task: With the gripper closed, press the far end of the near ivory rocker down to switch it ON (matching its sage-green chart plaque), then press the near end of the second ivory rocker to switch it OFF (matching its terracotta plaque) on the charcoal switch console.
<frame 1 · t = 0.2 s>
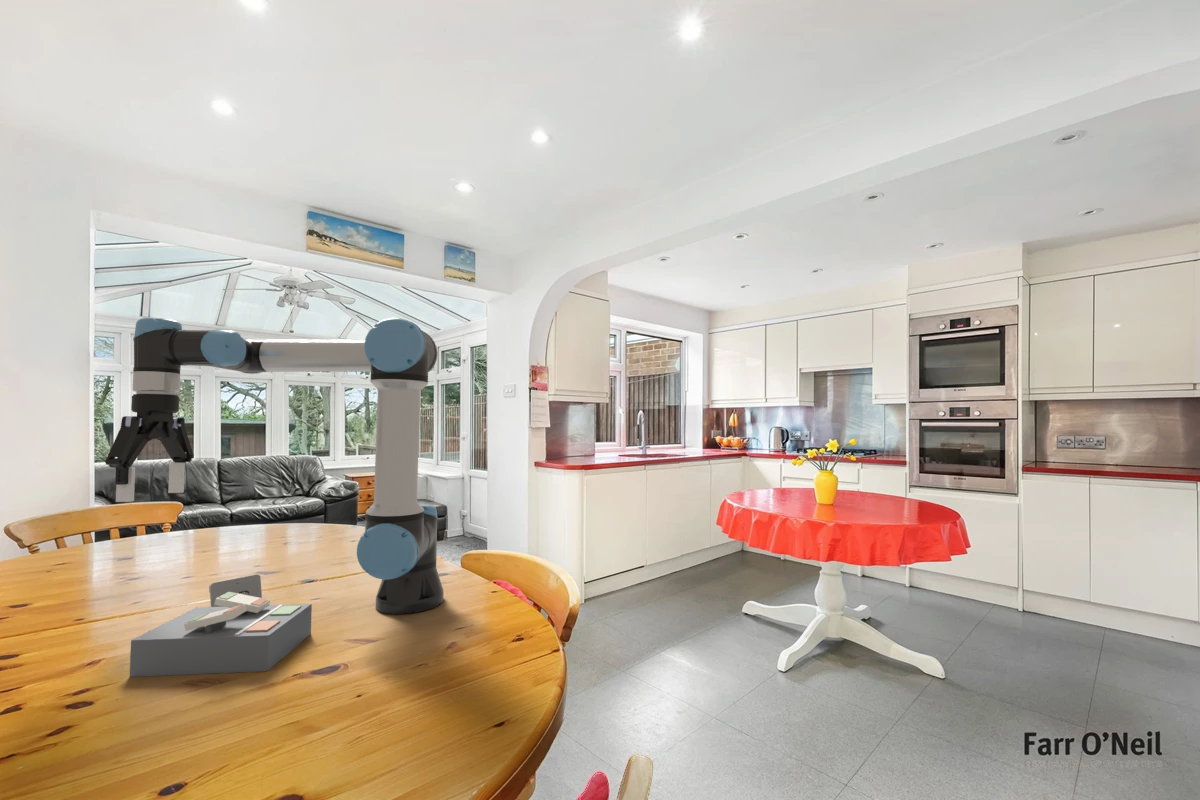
hand: (152, 497, 107), 27 cm above the table, fingers open, 13 cm apart
console: (228, 653, 96), on the table
rocker B: (216, 616, 93), point 8 cm above the table, hinge at 13.0°
electrical switch: (233, 622, 112), on the table
rocker A: (243, 601, 101), point 8 cm above the table, hinge at -13.0°
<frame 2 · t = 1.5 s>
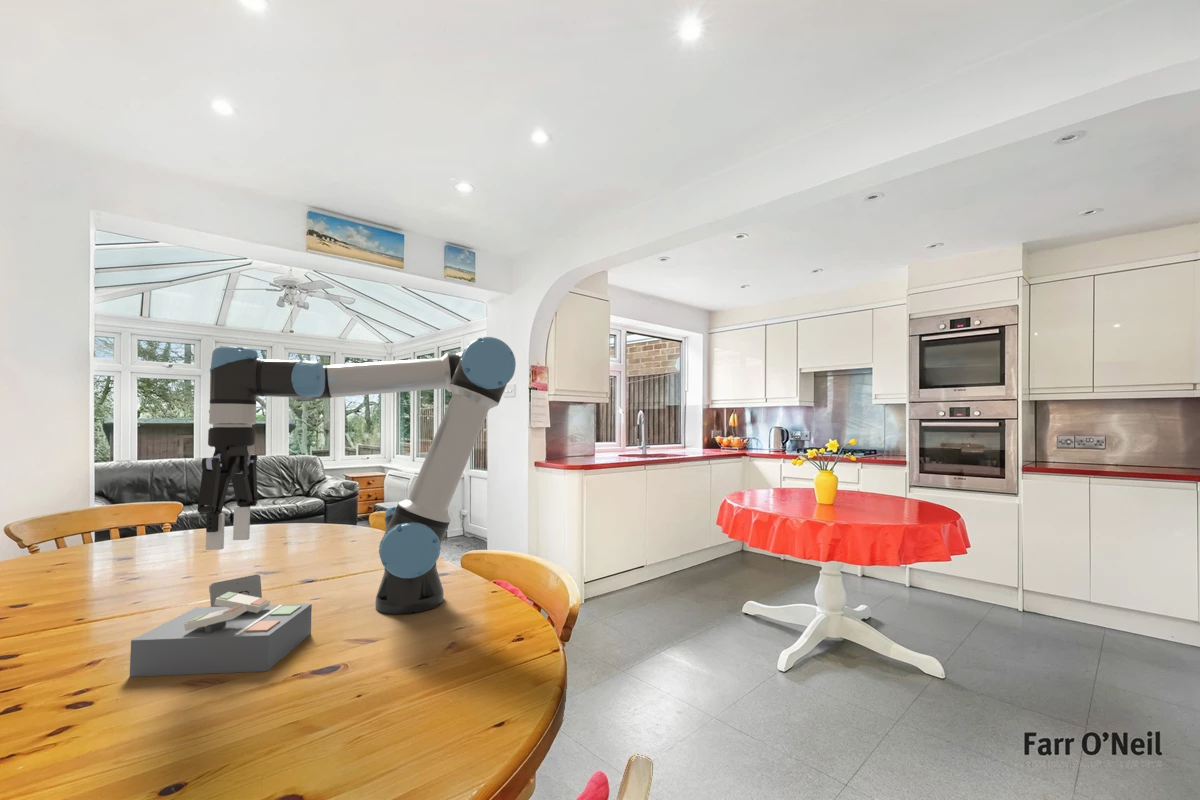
hand: (228, 544, 101), 19 cm above the table, fingers open, 8 cm apart
nothing on the table moved.
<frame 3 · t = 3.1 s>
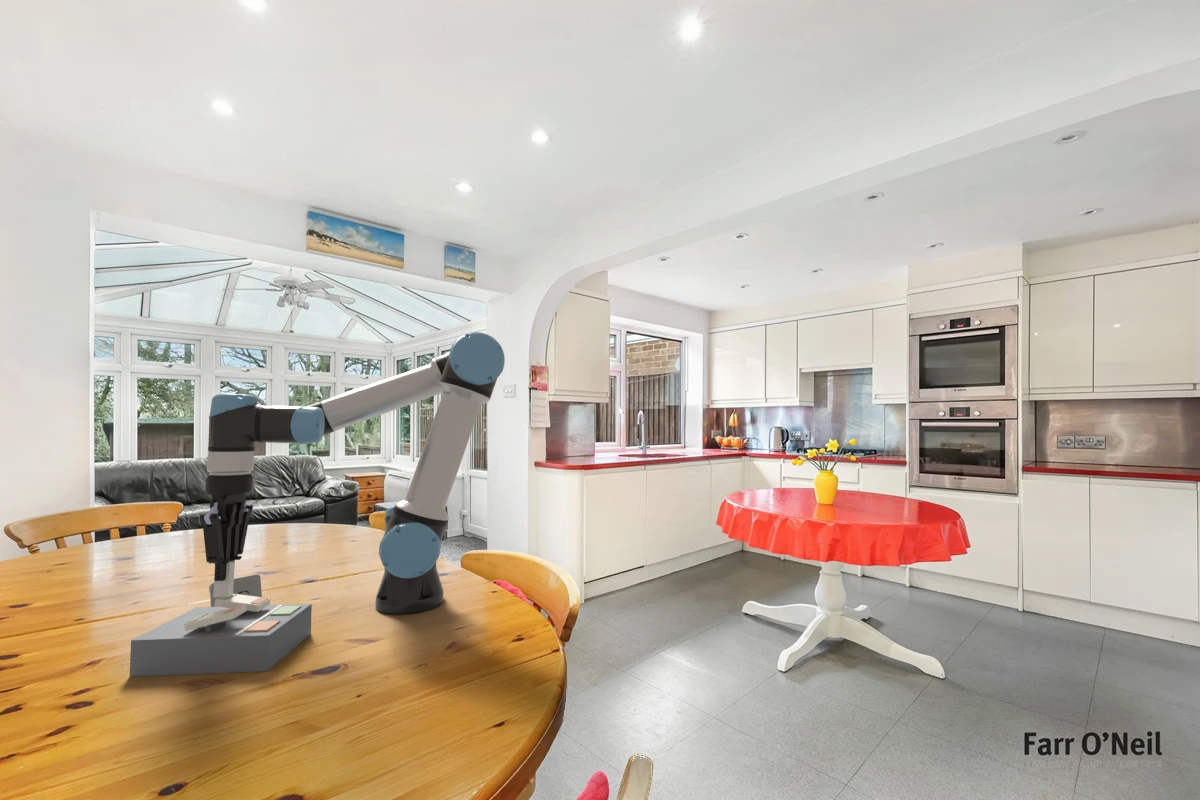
hand: (223, 596, 100), 9 cm above the table, fingers closed
rocker A: (243, 601, 101), point 8 cm above the table, hinge at -9.0°, touching gripper
everything else where it was.
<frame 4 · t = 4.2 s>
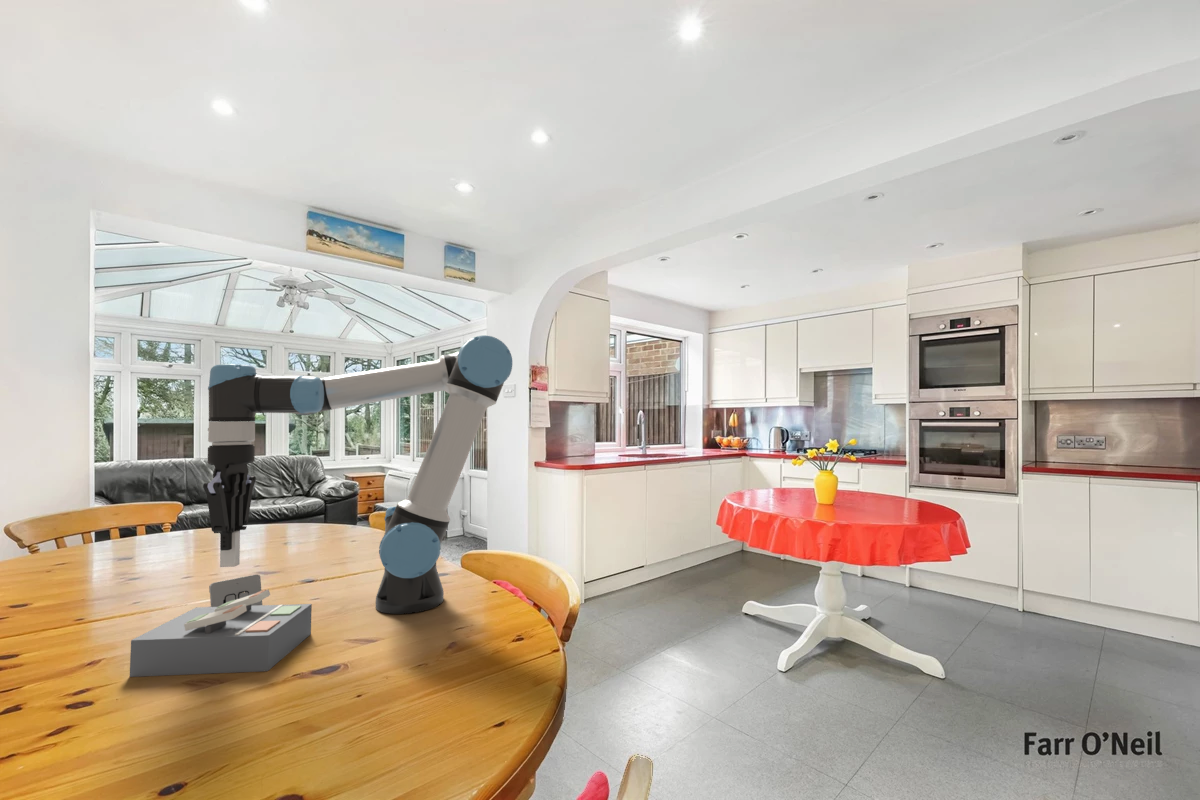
hand: (229, 565, 101), 15 cm above the table, fingers closed
rocker A: (242, 601, 101), point 8 cm above the table, hinge at 17.2°
everything else where it was.
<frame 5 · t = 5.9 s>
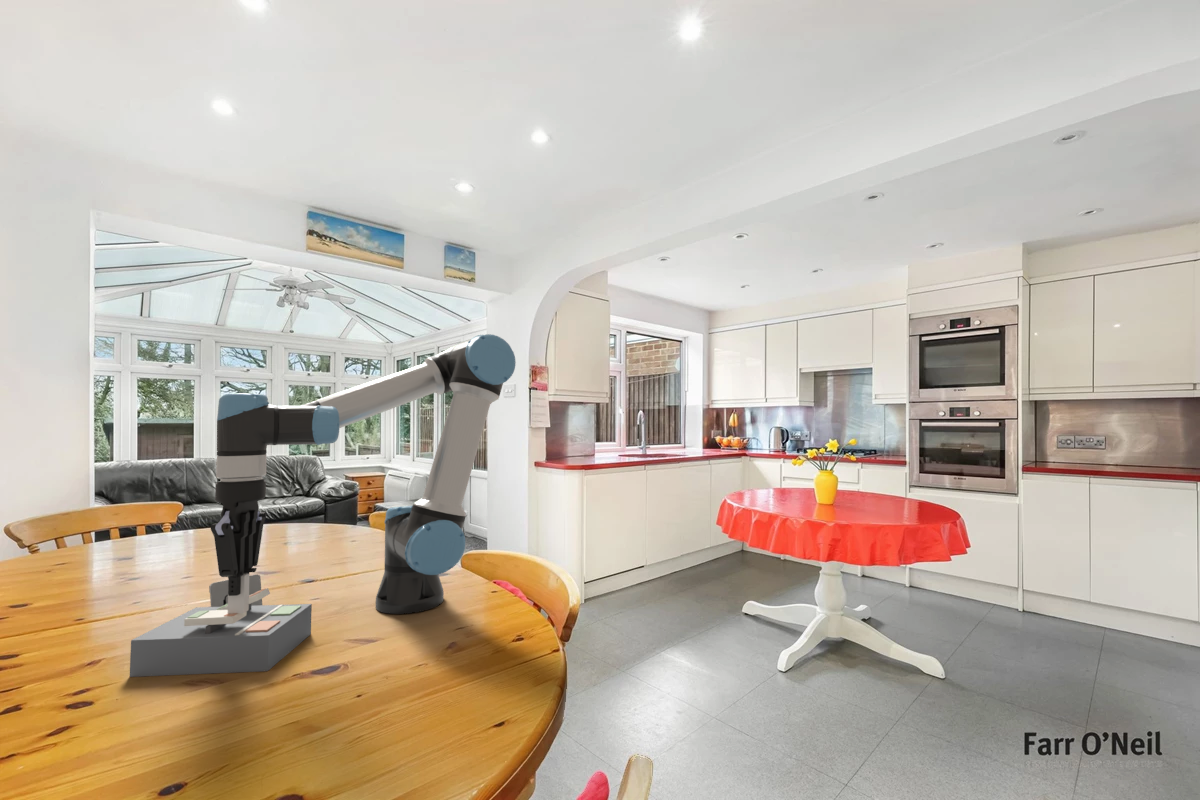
hand: (238, 611, 93), 9 cm above the table, fingers closed
rocker B: (216, 616, 93), point 8 cm above the table, hinge at 0.9°, touching gripper
rocker A: (242, 601, 101), point 8 cm above the table, hinge at 21.3°, touching console
everything else where it was.
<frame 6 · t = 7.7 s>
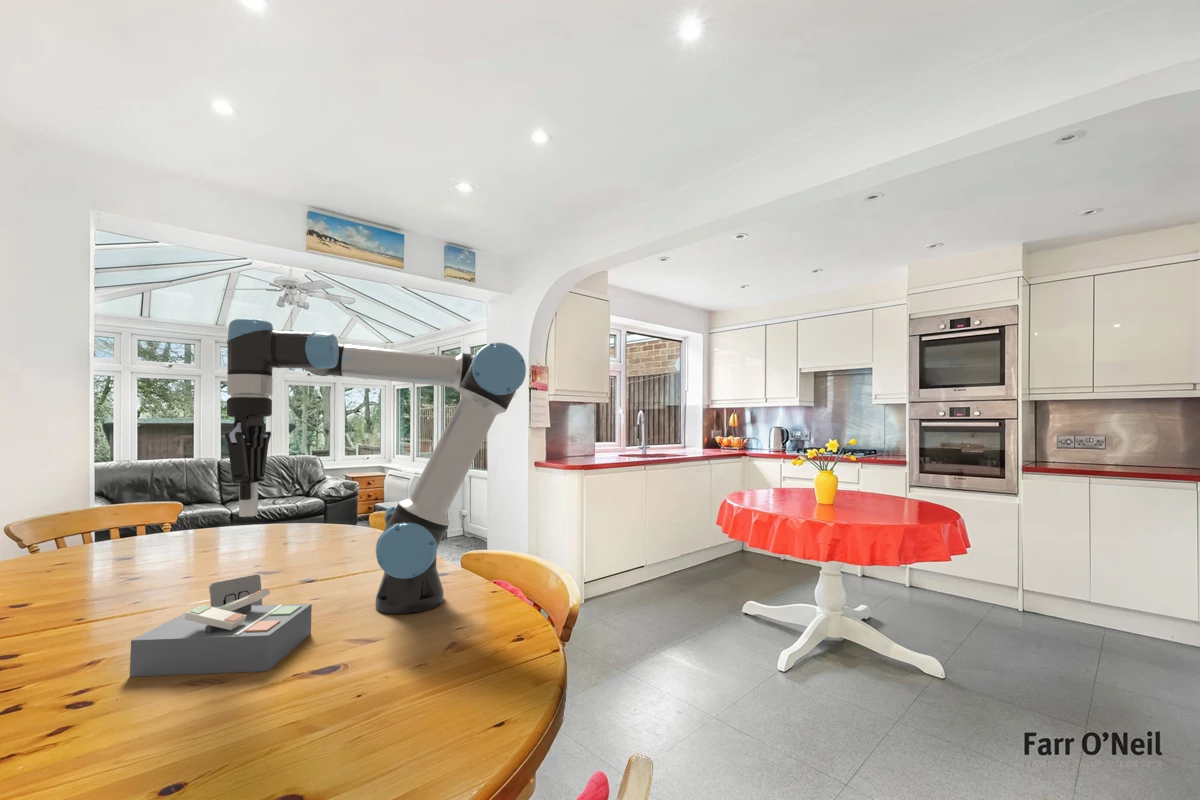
hand: (248, 515, 103), 24 cm above the table, fingers closed
rocker B: (216, 616, 93), point 8 cm above the table, hinge at -15.3°
rocker A: (242, 601, 101), point 8 cm above the table, hinge at 21.0°
everything else where it was.
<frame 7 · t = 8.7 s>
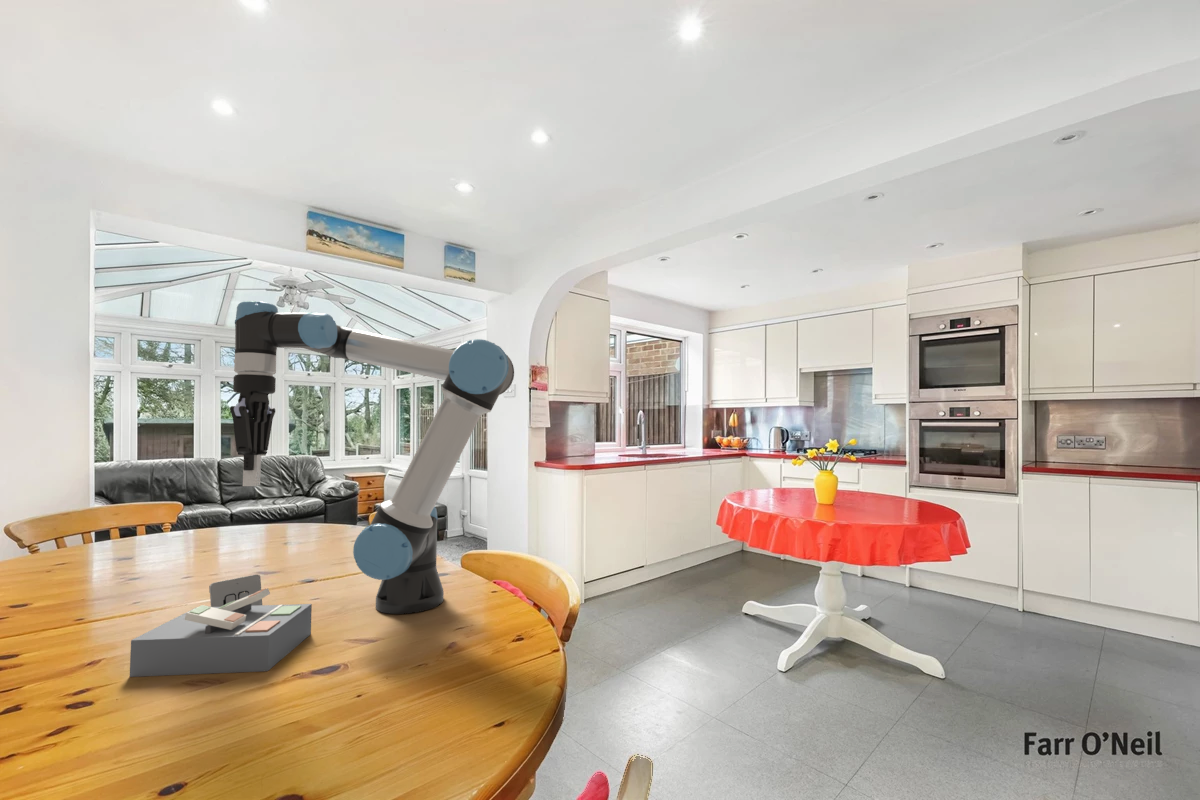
hand: (251, 485, 110), 29 cm above the table, fingers closed
rocker B: (216, 616, 93), point 8 cm above the table, hinge at -14.6°
everything else where it was.
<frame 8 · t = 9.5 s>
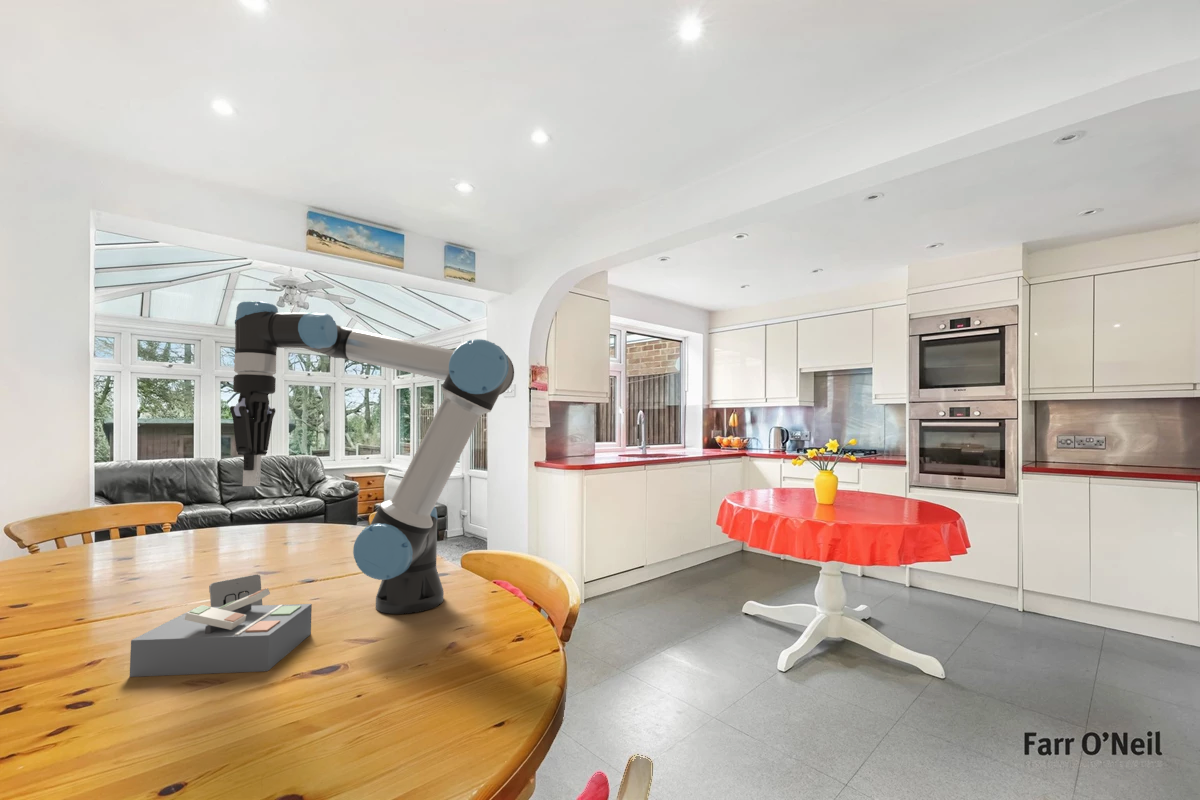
hand: (251, 485, 110), 29 cm above the table, fingers closed
nothing on the table moved.
at the end: rocker A at +21° (first picture: -13°); rocker B at -14° (first picture: +13°) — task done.
